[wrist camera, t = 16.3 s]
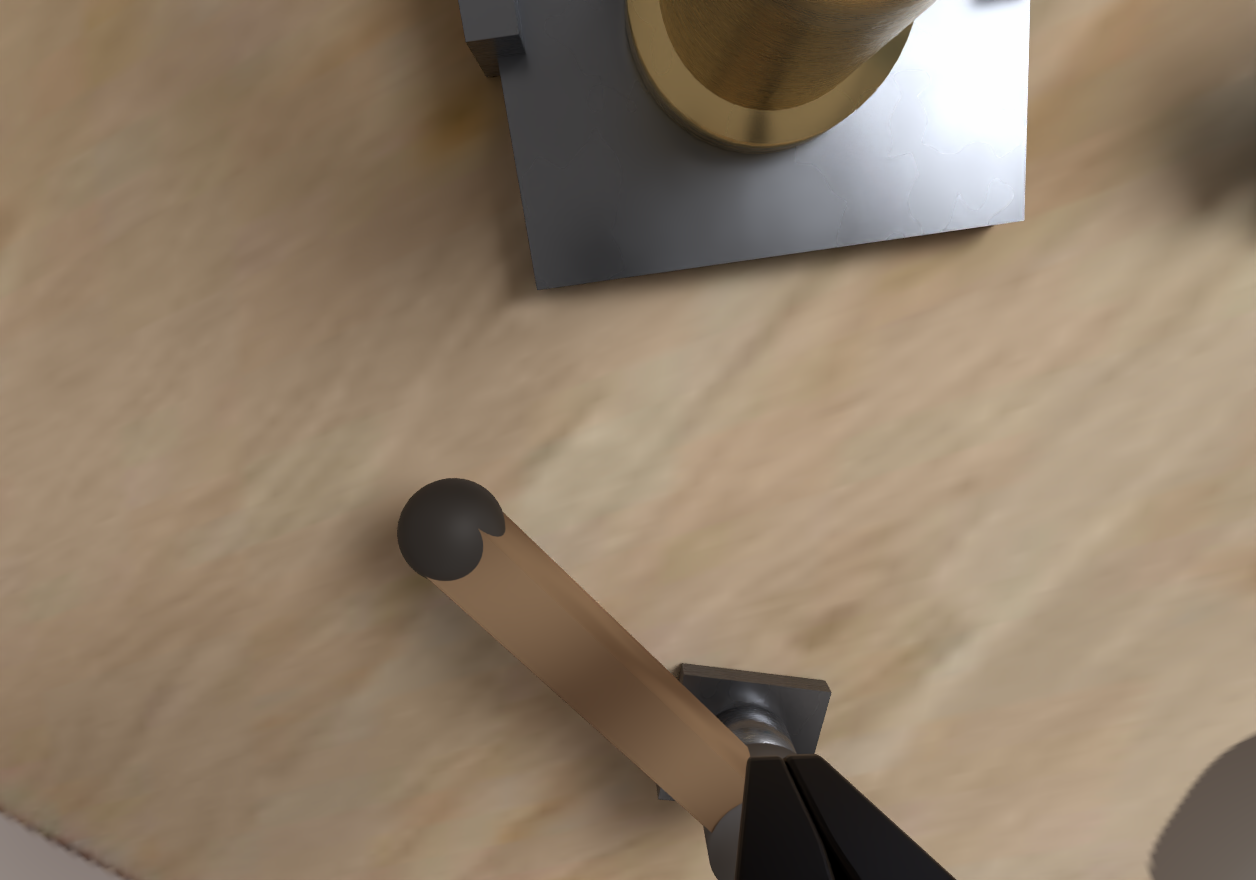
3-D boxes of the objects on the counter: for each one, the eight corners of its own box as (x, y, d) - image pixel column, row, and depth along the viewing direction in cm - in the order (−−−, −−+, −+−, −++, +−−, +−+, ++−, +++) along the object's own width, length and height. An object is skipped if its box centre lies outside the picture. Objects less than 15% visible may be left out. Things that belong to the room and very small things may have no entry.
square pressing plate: (792, 799, 22) (812, 854, 20) (656, 785, 22) (661, 840, 20) (825, 680, 21) (850, 726, 19) (681, 663, 20) (690, 707, 18)
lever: (833, 785, 19) (867, 861, 17) (746, 849, 20) (766, 931, 17) (476, 433, 16) (452, 461, 13) (383, 521, 16) (342, 563, 14)
